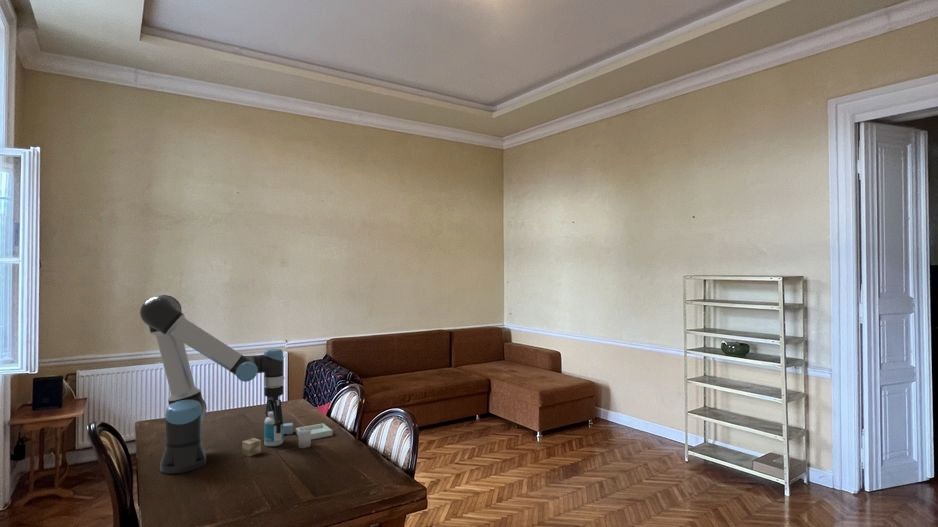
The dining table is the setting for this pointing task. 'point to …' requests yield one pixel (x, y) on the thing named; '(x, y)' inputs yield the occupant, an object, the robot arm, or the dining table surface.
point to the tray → (317, 430)
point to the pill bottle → (271, 431)
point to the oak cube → (251, 447)
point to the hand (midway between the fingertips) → (273, 436)
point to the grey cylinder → (304, 438)
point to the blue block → (288, 428)
